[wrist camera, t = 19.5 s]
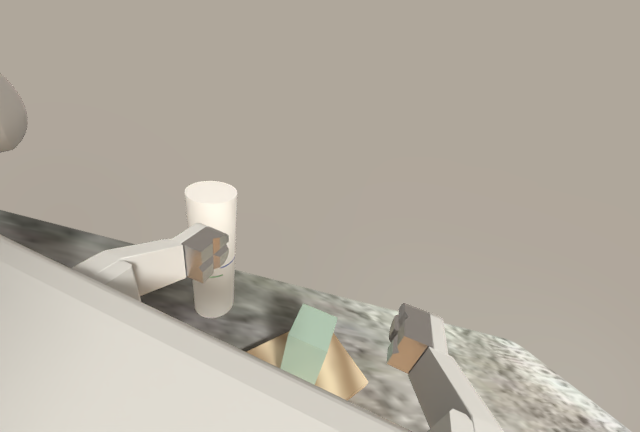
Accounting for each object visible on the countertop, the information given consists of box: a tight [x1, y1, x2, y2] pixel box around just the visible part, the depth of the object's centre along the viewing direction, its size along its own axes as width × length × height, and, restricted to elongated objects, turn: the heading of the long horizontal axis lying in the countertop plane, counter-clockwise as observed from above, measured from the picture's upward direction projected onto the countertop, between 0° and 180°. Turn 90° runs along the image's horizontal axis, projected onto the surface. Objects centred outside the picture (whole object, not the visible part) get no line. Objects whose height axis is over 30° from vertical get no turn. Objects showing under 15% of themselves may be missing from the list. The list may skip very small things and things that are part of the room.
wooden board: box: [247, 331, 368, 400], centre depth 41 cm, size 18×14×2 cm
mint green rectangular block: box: [280, 304, 337, 385], centre depth 37 cm, size 6×6×12 cm
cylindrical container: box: [185, 181, 237, 318], centre depth 43 cm, size 7×7×25 cm
